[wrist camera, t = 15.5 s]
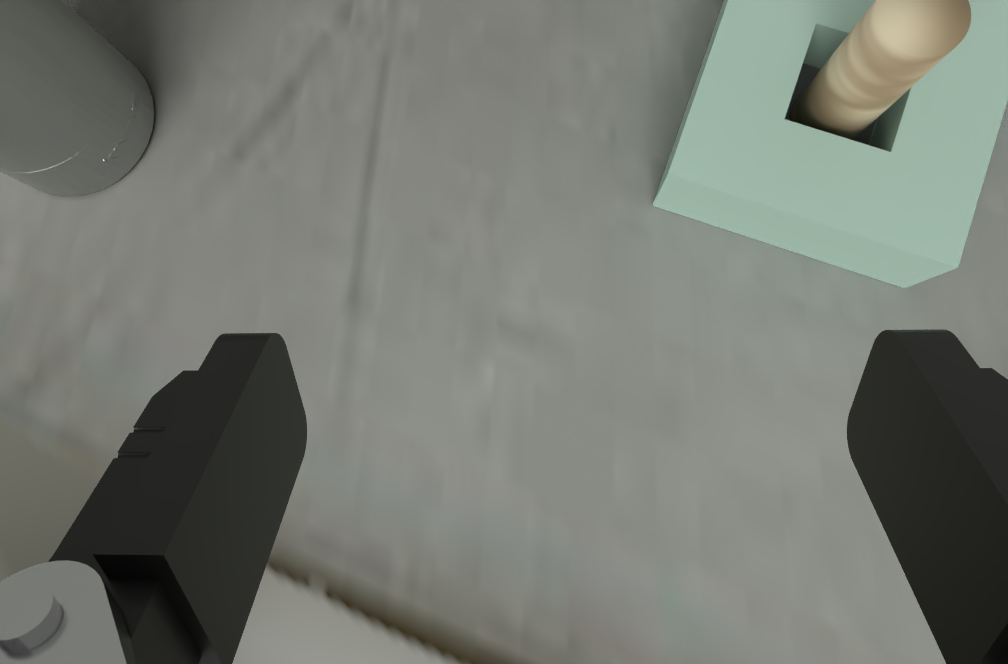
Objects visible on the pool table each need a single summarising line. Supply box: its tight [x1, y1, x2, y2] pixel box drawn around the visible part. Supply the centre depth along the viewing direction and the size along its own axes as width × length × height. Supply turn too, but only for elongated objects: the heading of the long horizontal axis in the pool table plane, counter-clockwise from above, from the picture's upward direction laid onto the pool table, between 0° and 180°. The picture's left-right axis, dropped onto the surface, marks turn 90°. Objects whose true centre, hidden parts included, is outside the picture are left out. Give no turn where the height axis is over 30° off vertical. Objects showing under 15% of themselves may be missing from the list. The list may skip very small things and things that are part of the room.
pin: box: [790, 0, 971, 140], centre depth 33 cm, size 4×4×10 cm
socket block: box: [652, 0, 1008, 288], centre depth 37 cm, size 14×14×5 cm
